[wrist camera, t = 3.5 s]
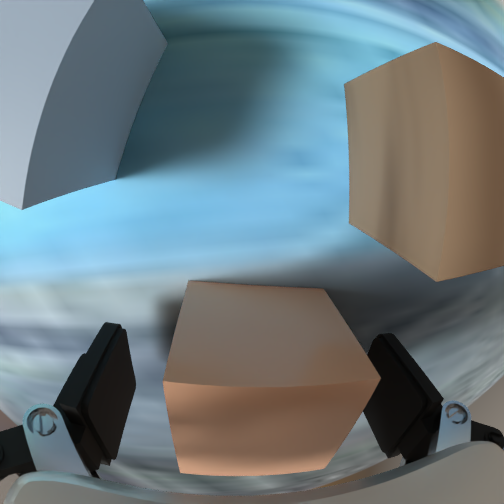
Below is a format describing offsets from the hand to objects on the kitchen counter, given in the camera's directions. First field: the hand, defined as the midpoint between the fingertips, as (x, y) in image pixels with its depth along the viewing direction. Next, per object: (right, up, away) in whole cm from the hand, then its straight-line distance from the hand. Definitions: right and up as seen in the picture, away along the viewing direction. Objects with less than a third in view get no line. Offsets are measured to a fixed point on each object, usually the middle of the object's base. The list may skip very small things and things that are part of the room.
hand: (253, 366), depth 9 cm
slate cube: (-6, +10, -2) cm, 12 cm away
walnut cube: (+6, +8, -1) cm, 10 cm away
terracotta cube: (0, +1, +2) cm, 2 cm away
